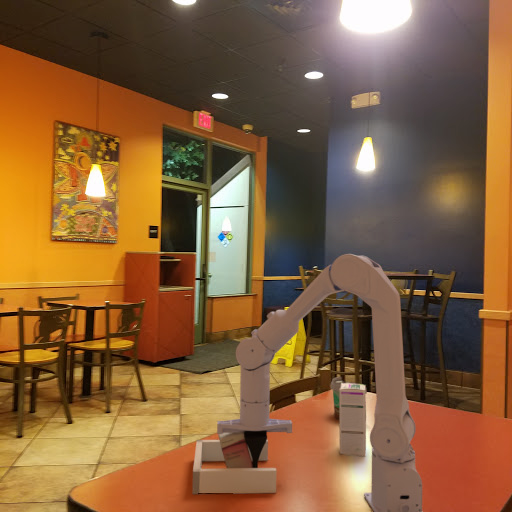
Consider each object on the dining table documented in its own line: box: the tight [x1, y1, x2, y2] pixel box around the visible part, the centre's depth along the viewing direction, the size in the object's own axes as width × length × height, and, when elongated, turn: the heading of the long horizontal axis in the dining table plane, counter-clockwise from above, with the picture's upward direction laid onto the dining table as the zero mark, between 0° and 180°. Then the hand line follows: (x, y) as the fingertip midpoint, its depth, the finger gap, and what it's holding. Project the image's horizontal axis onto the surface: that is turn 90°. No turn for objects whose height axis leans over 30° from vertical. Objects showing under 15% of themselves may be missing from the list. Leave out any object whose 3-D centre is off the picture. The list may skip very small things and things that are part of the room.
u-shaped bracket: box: [192, 438, 277, 495], centre depth 98 cm, size 16×15×4 cm
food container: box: [330, 376, 368, 421], centre depth 137 cm, size 12×6×10 cm, turn 25°
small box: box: [217, 432, 253, 468], centre depth 99 cm, size 5×4×8 cm
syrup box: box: [338, 382, 367, 457], centre depth 113 cm, size 6×6×14 cm
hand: (254, 469), depth 98 cm, fingers closed, pressing on small box
